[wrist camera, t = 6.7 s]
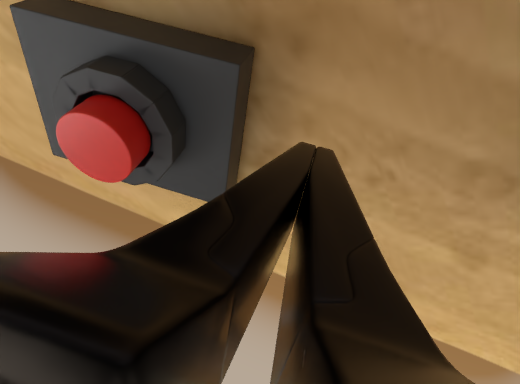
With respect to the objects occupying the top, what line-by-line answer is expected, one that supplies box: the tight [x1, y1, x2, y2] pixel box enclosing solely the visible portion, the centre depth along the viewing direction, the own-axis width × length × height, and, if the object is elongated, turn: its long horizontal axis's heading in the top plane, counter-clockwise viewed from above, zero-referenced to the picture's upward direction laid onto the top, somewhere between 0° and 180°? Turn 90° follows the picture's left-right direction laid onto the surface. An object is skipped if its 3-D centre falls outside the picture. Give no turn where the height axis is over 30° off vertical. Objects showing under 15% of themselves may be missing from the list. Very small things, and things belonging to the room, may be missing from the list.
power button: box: [56, 95, 151, 183], centre depth 20 cm, size 4×4×2 cm
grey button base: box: [10, 0, 254, 202], centre depth 22 cm, size 13×10×4 cm
